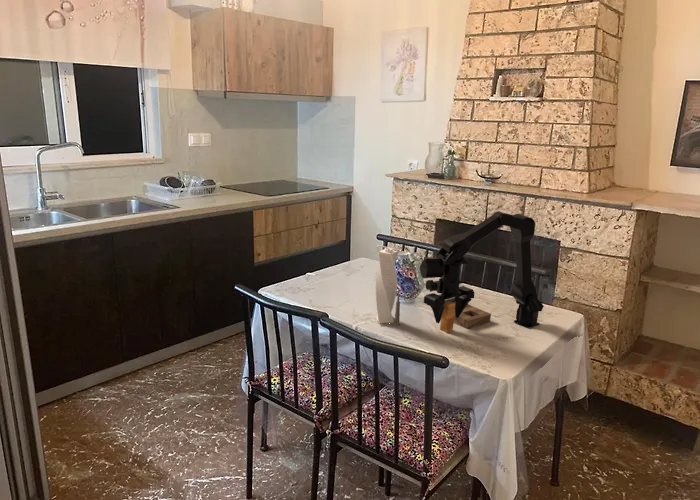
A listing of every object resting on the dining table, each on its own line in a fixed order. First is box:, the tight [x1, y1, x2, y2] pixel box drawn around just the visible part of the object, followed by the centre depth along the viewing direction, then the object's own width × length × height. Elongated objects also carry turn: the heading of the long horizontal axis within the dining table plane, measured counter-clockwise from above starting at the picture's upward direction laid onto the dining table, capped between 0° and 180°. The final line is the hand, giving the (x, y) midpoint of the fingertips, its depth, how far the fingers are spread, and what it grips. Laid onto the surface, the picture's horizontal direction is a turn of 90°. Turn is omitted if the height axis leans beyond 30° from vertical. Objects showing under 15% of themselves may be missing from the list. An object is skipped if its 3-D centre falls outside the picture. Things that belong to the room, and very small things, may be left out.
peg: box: [439, 301, 455, 334], centre depth 176 cm, size 3×3×10 cm
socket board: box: [438, 293, 492, 330], centre depth 188 cm, size 16×13×7 cm
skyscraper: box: [374, 244, 401, 327], centre depth 180 cm, size 8×8×28 cm
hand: (447, 320), depth 177 cm, fingers open, 9 cm apart
